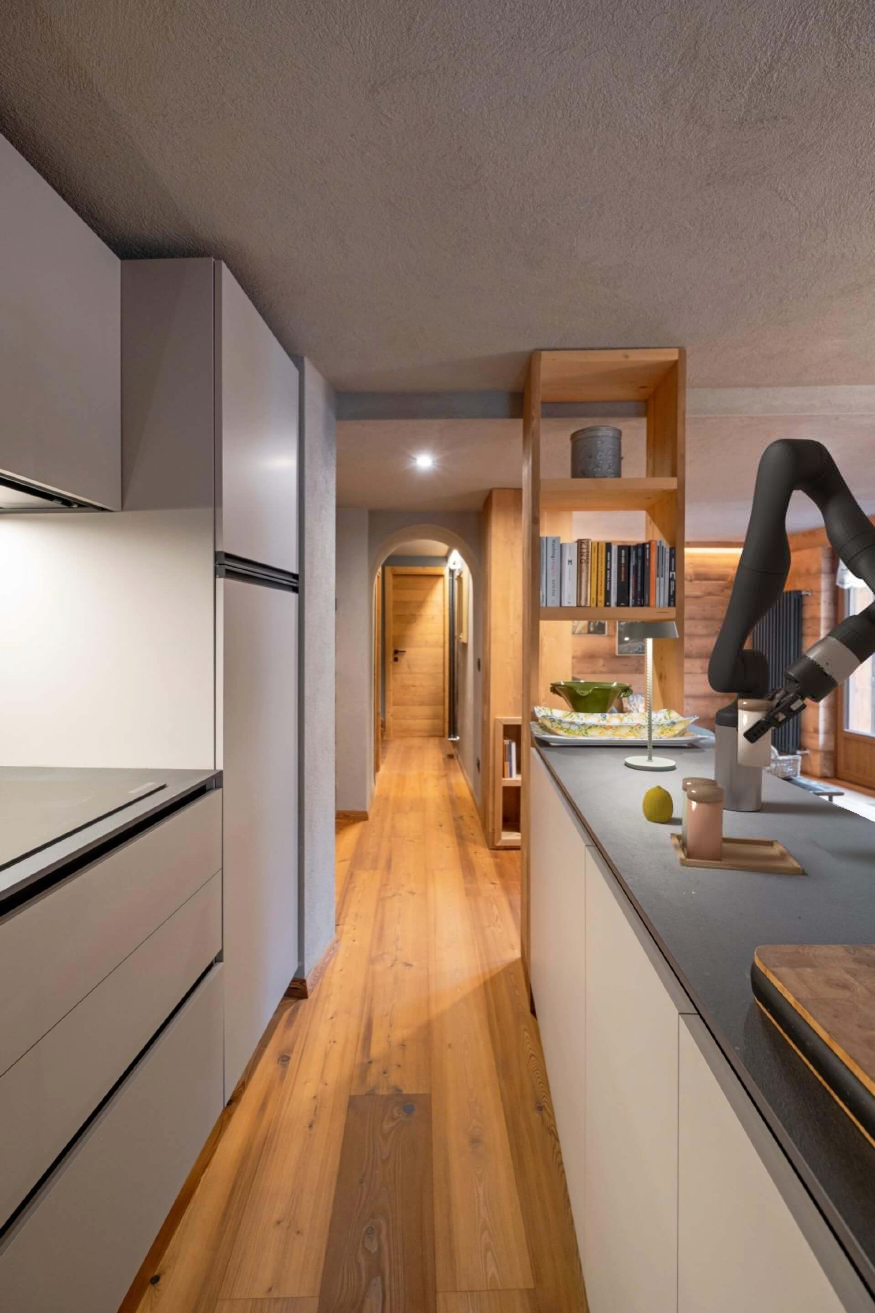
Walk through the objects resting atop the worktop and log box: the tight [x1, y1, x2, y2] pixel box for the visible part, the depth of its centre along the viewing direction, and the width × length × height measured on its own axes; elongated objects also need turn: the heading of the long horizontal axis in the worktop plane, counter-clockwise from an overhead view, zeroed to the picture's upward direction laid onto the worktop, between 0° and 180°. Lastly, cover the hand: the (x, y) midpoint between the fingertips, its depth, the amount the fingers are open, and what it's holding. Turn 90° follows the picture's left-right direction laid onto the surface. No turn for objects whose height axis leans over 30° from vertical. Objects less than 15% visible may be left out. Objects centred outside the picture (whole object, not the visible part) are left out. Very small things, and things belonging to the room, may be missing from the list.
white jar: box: [738, 699, 772, 768], centre depth 116 cm, size 5×5×11 cm
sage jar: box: [681, 776, 718, 849], centre depth 111 cm, size 5×5×11 cm
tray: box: [669, 832, 804, 876], centre depth 108 cm, size 14×17×2 cm
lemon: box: [642, 785, 674, 824], centre depth 127 cm, size 6×6×8 cm
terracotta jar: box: [686, 785, 724, 861], centre depth 106 cm, size 5×5×11 cm
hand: (743, 736), depth 117 cm, fingers closed on white jar, 5 cm apart
